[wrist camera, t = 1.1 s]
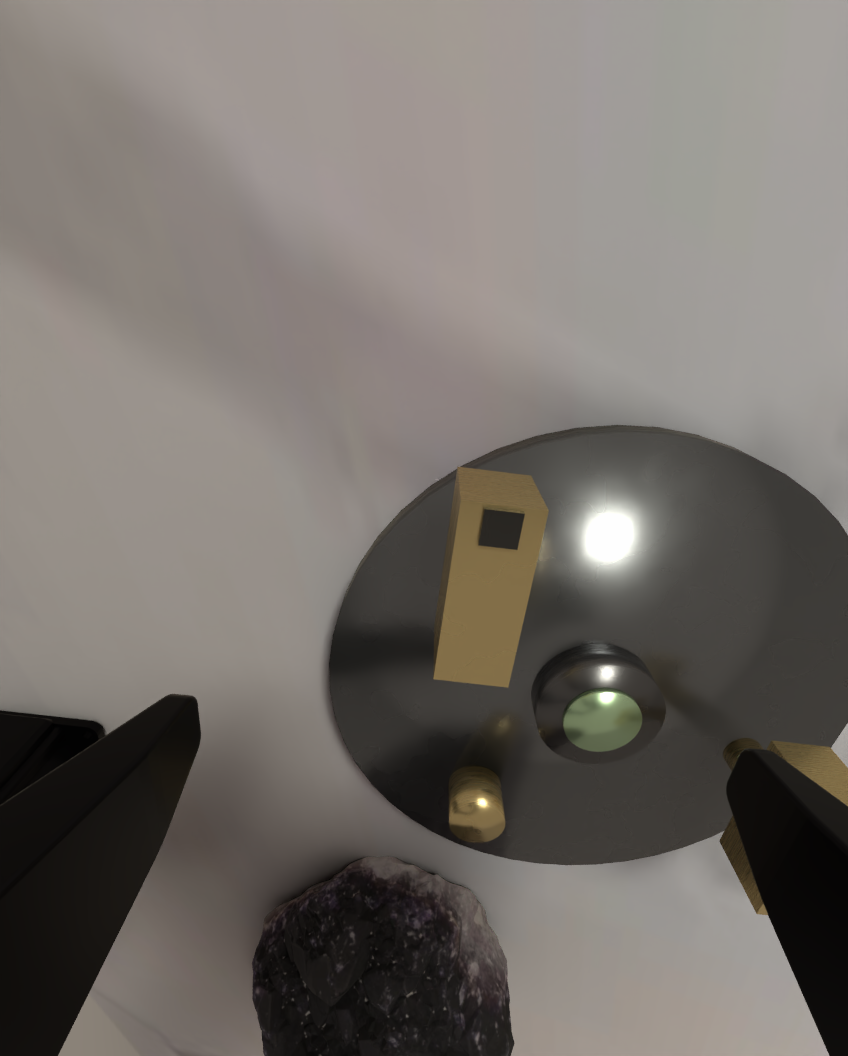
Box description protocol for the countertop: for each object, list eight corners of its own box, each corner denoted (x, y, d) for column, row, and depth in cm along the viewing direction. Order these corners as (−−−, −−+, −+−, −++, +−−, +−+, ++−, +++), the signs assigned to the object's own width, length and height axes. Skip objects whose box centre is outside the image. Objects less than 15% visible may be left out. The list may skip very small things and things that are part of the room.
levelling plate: (739, 862, 28) (775, 929, 25) (325, 818, 27) (310, 880, 24) (960, 464, 19) (1056, 495, 16) (348, 389, 18) (331, 406, 15)
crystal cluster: (233, 865, 30) (139, 1117, 22) (451, 829, 27) (441, 1114, 18) (340, 968, 36) (298, 1200, 27) (530, 950, 33) (551, 1210, 24)
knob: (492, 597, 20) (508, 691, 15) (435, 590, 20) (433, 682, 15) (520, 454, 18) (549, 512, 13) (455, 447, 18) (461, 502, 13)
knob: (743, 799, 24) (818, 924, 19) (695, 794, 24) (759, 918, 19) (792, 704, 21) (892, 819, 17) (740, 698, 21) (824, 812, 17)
